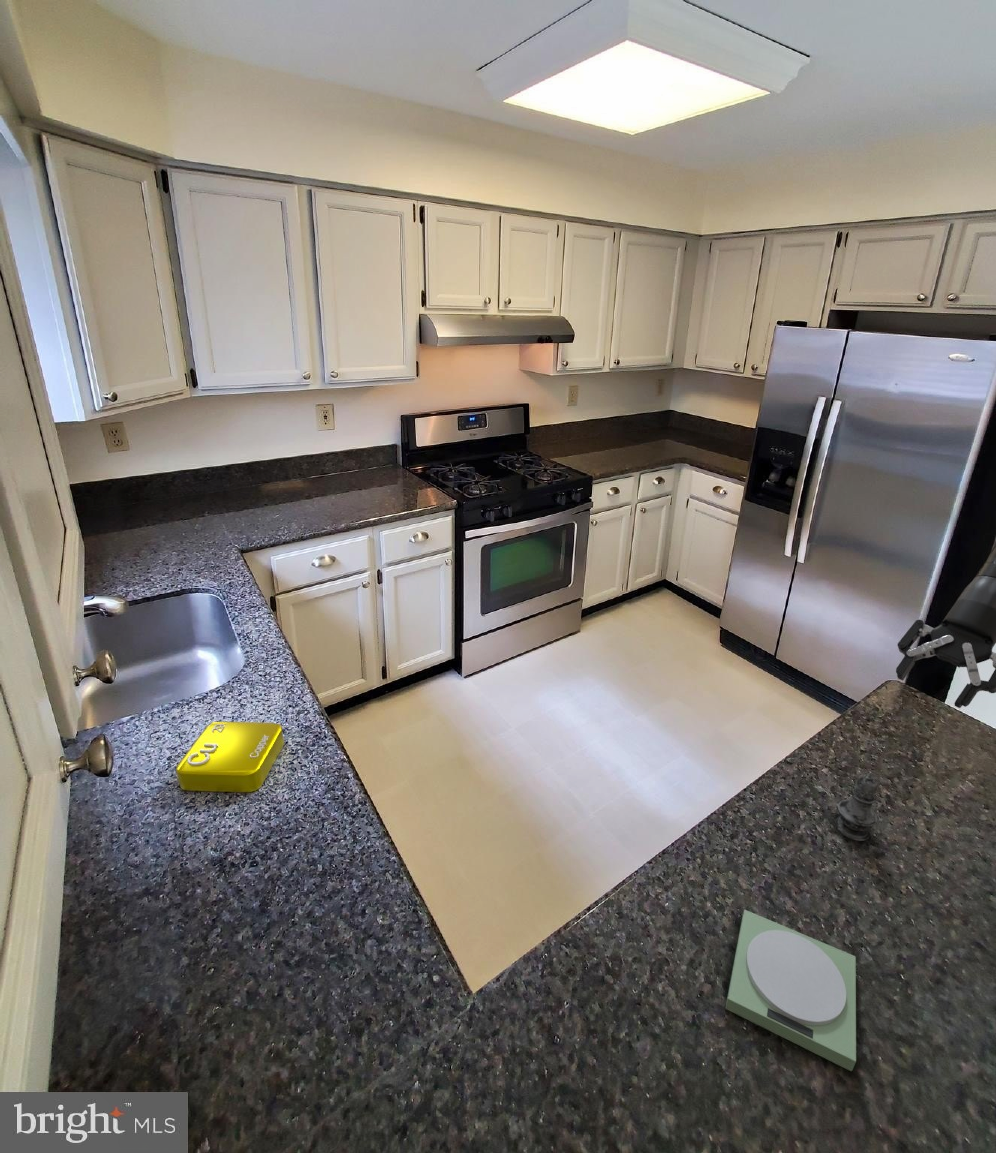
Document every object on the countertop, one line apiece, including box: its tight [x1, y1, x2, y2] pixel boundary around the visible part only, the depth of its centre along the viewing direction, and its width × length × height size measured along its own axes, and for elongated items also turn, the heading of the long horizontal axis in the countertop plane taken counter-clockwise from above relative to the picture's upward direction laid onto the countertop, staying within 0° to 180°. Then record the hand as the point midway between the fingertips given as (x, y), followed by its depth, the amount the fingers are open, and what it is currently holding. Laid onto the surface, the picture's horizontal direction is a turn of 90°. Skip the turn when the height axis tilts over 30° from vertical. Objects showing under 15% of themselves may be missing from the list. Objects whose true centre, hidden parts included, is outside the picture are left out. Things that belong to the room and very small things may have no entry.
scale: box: [724, 909, 857, 1072], centre depth 77 cm, size 14×14×3 cm
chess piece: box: [834, 772, 879, 842], centre depth 99 cm, size 6×6×12 cm
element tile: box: [175, 721, 285, 793], centre depth 113 cm, size 15×15×5 cm
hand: (927, 691), depth 97 cm, fingers open, 8 cm apart
